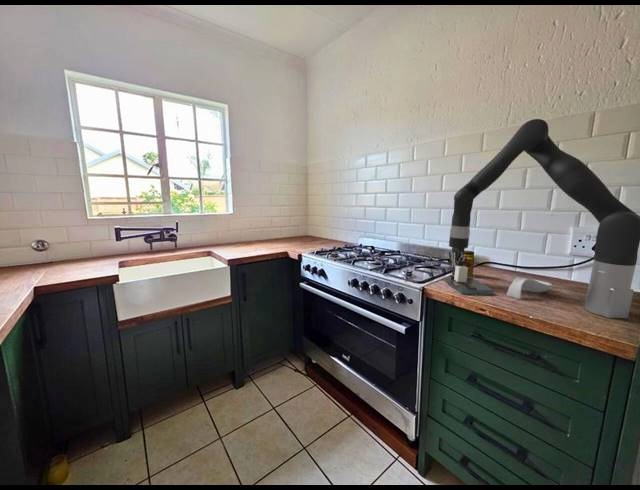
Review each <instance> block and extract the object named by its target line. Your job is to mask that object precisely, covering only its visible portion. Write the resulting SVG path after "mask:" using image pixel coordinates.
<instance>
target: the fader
mask: <svg viewBox="0 0 640 490" xmlns="http://www.w3.org/2000/svg"><path fill="white" fill-rule="evenodd" d="M467 273H468V268H467V267H465V266H455V275H453V276H454V280H456V281H457V282H466V281H467V278H468V277H467Z"/></svg>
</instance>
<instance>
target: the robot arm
mask: <svg viewBox="0 0 640 490" xmlns="http://www.w3.org/2000/svg"><path fill="white" fill-rule="evenodd" d="M523 152H525V153H526V154H527V155H529V156H530V157H531V158H532V159H533V160H535V161H536V162H537V163H538V164H539V165H540V166H541V167H542V169H543V171H544V172H545V173H546V174H547V175H548V177H550V179H551V180H552V181H553V183H554V184H556V185H557V187H559V189H560V190H561V191H562V192H564V194H565V195H567V196H568V197H569V198H571V199H572V200H574V201H575V202H577V203H578V204H579V205H581V206H582V207H583V208H585V209H586V210H587V211H589V213H591V215H592V216H593V217H594V218H595V220H596V221H597V222H598V223H599V224H598V228H597V232H596V238H595V244H594V258H593V263H592V268H591V272H590V273H591V274H590V278H589V283H588V289H587V291H586V299H585V304H584V310H586V311H587V312H589V313H592V314H594V315H595V314H596V315H599V316H602V317H606V318H608V319H629V314H630V309H631V305H632V301H633V296H634V289H632V284H633V283H632V282H633V279H634V274H635V269H636V265H637V262H638V252H639V251H638V250H639V248H640V247H639V246H640V215H639V214H638V213H636V212H634V211H633V210H632V209H630V208H629V207H628V206H626V205H625V204H624V203H622V202H621V201H620V200H619V199H618V198H617V197H616V196H615V195H613V193H612V192H611V191H610V190H609V188H608V187H607V186H606V185H605V184H604V183H603V181H602V180H601V179H600V178H599V177H598V176H597V174H595V173H594V172H593V170H591V168H590V167H589V166H588V165H586V164H585V163H584V162H583V161H582V160H580V159H578V158H577V157H575V156H573V155H571V154H569V153H567V152H565V151H564V150H562V149H560V147H558V146H557V145H556V143H555V142H554V141H553V140H552V138H551V137H550V136H549V125H548V123H547V121H546V120H543V119H542V118H541V119H540V118H535V119H530V120H528V121H526V122H525V123H523V124H522V125H521V126H520V128H518V130H517V131H516V132H515V133H514V135H513V136H512V137H511V138H510V140H509V141H508V142H507V143H506V144H505V145H504V146H503V147H502V149H501V150H500V151H499V152H498V153H497V154H496V155H495V156H494V157H493V158H492V159H491V160H490V161H489V162H488V163H487V164H486V165H485V166H484V167H483V168H481V169H480V170H479V171H478V172H477V173H476V174H475V175H474V176H473V177H472V178H471V179H470V180H469V181H468V182H467V183H466V184H465V185H464V186H462V187H461V188H460V189H458V191H457V192H456V193H455V194H454V195H453V200H454V202H453V213H452V218H451V225H450V231H449V242H448V247H449V248H451V251H448V256H449V257H448V258H449V262H450V264H451V266H452V270H451V271H452V272H451V274H452V276H454V275H455V266H463V265H464V263H465V262H466V260H467V257H464V253H465V252H464V251H465V249H468V248H469V242H470V241H469V240H470V233H471V231H470V226H471V214H472V209H473V205H474V200H475V198H476V197H478V196H479V195H480V194H481V193H483V192H484V191H485V190H486V189H489V187H490V186H491V185H493V184H494V183H495V182H496V181H497V180H498V179H499V178H500V177H501V176H502V175H503V174H504V173H505V171H506V170H507V169H508V168H509V166H511V164H512V163H513V162H514V161H515V160H516V159H517V158H518V157H519V156H520V155H521V154H522V153H523Z"/></svg>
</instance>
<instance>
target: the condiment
mask: <svg viewBox="0 0 640 490" xmlns="http://www.w3.org/2000/svg"><path fill="white" fill-rule="evenodd" d="M464 252H465V253H464V257H467V260H466V262H465V263H464V265H463V266H465V267H467V268H468V273H467V278H473V279H476V276H475V275H474V266H475V251H473V250H464Z"/></svg>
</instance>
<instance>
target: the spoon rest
mask: <svg viewBox="0 0 640 490" xmlns="http://www.w3.org/2000/svg"><path fill="white" fill-rule="evenodd" d="M553 286H554V285H553V283H550V282H547V281H543V280H537V279H534V278H533V279H532V278H525V277H521V276H517V277H516V278H514V280H513V281H512V282H511V284H510V285H509V288H508V290H507V291H506V296H507V297H510V298H514V299H517V300H522V299H521V298H522V289H523V290H524V291H527V292H531V293H536V294H537V293H538V294H539V293H543V292H547V291H549V290H550V289H552V287H553Z"/></svg>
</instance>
